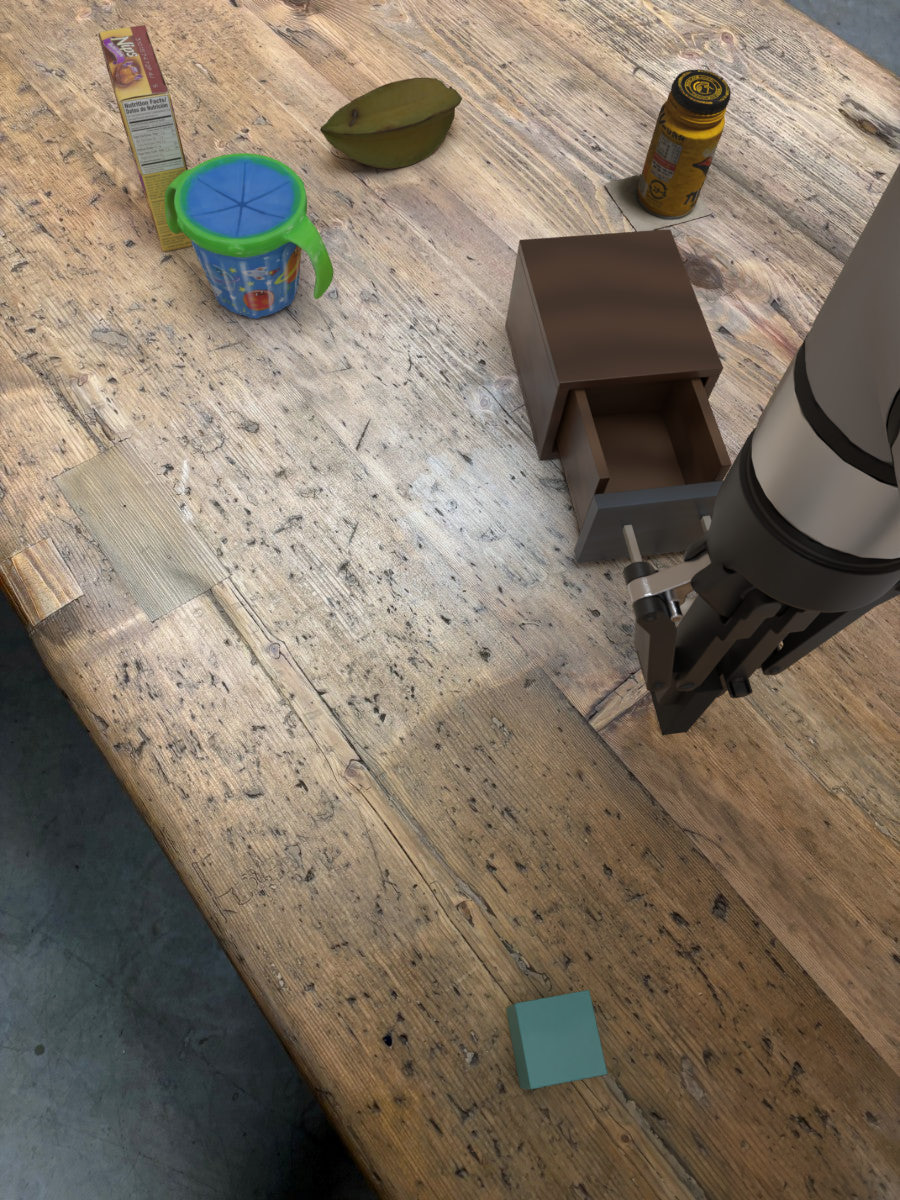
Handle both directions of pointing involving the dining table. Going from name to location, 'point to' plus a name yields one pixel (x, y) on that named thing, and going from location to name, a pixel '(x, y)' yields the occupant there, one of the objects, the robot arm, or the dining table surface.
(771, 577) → the robot arm
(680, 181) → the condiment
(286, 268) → the snack cup
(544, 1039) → the block
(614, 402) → the drawer
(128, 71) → the candy box
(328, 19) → the dining table surface
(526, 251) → the cabinet
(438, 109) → the fruit
